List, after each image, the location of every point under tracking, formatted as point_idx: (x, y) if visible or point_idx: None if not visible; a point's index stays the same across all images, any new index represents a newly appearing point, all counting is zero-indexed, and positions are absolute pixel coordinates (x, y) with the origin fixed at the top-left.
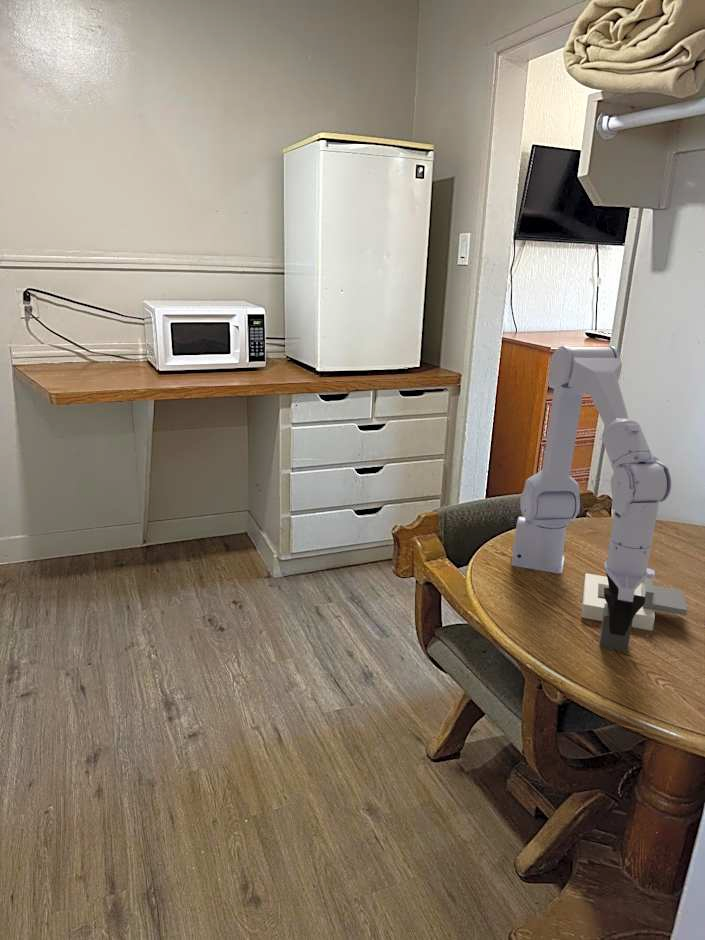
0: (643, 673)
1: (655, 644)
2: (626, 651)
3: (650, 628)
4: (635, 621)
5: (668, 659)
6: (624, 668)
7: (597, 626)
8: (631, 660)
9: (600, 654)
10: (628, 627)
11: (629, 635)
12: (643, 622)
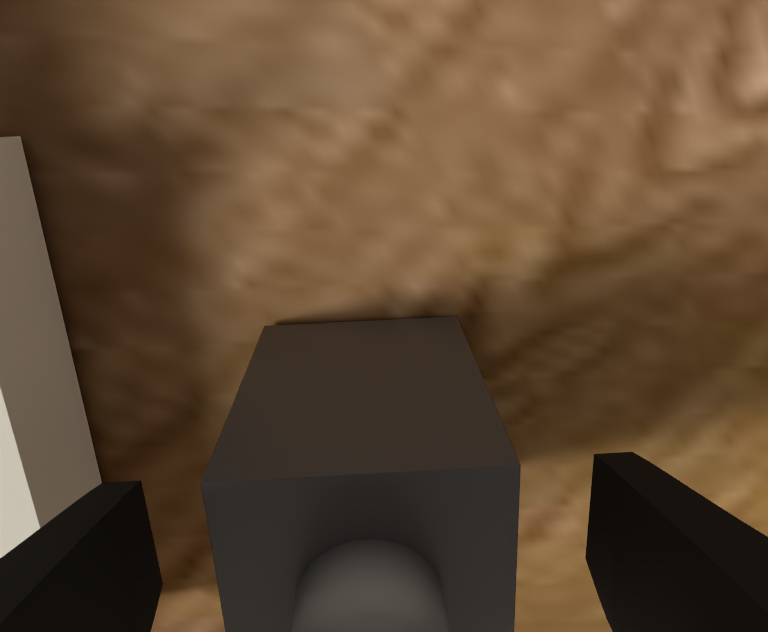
0: (684, 198)
1: (221, 108)
2: (457, 321)
3: (12, 156)
4: (24, 295)
5: (416, 3)
6: (657, 319)
7: (180, 504)
8: (540, 280)
9: (537, 462)
10: (705, 499)
11: (482, 380)
12: (4, 231)
